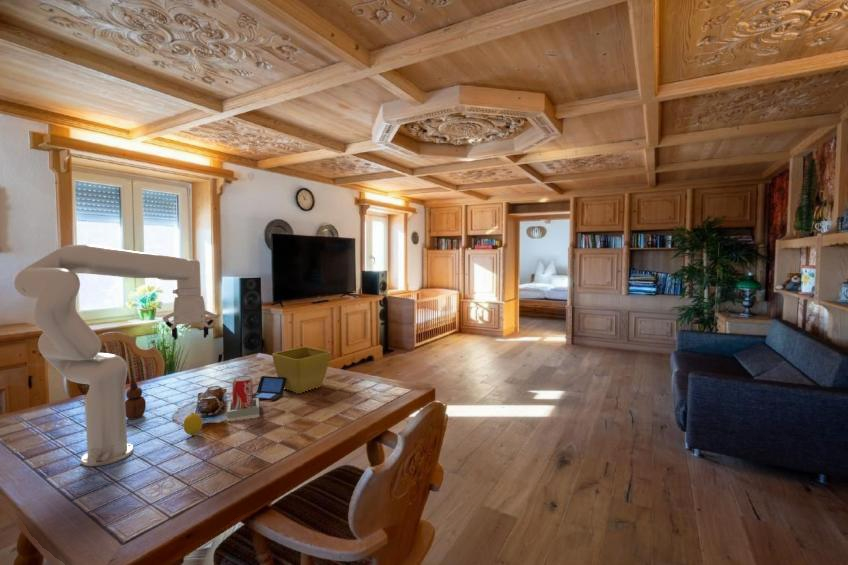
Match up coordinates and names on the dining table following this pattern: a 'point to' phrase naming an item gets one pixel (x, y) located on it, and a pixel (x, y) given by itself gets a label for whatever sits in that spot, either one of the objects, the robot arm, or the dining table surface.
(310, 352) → the flower pot
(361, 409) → the dining table surface
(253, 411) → the holder
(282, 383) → the handheld game console
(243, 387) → the soda can
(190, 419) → the lemon
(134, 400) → the wooden figurine
